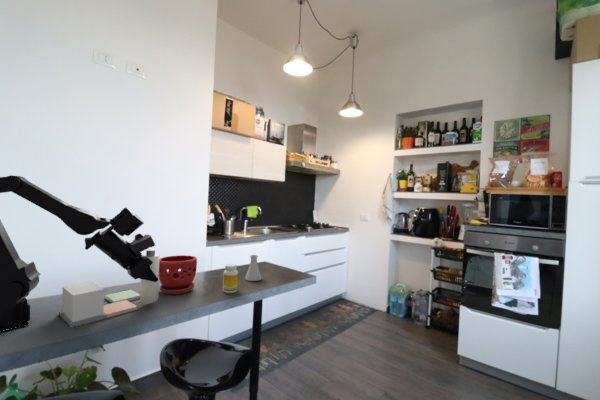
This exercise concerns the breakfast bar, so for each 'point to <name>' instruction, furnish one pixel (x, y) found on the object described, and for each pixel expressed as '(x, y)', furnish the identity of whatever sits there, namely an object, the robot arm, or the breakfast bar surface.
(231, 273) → the supplement bottle
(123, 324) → the breakfast bar surface
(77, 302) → the grey unit
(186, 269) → the plant pot
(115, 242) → the robot arm
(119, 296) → the sage green pad
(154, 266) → the cream bottle
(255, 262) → the flask
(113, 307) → the terracotta pad
